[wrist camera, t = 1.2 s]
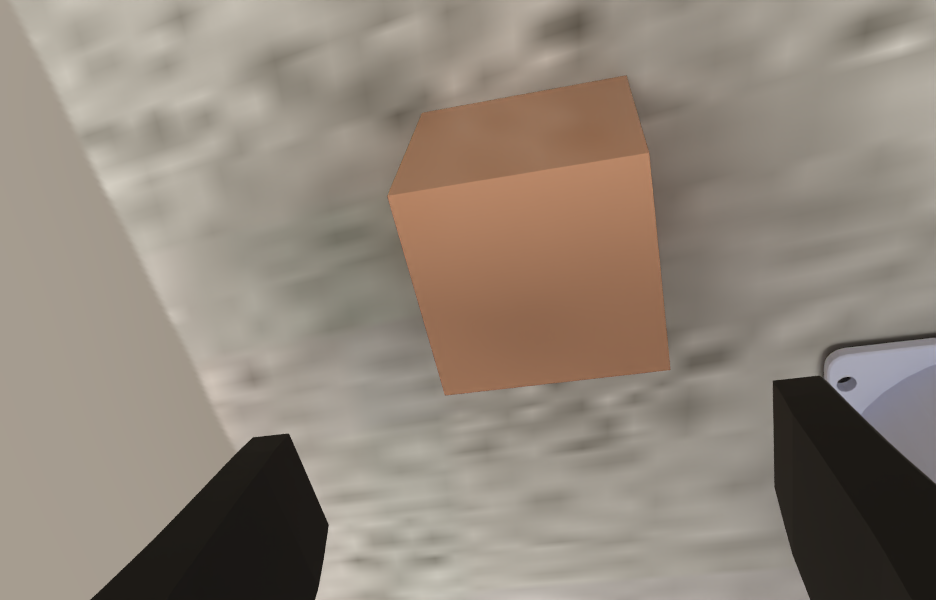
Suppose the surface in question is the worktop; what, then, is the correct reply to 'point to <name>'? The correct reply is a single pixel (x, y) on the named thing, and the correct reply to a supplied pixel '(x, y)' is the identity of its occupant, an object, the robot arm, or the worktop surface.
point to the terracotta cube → (534, 238)
